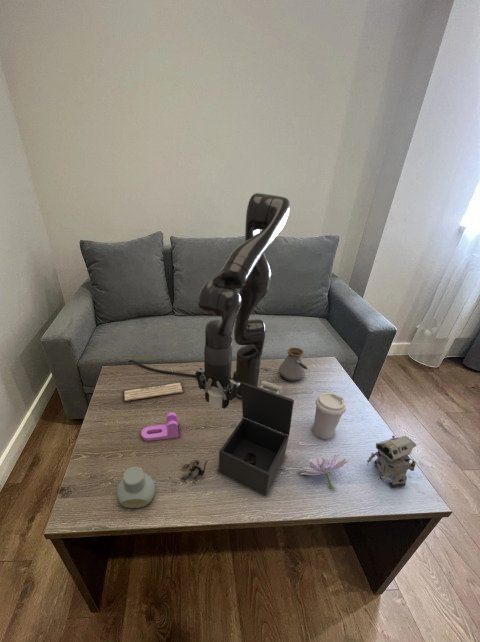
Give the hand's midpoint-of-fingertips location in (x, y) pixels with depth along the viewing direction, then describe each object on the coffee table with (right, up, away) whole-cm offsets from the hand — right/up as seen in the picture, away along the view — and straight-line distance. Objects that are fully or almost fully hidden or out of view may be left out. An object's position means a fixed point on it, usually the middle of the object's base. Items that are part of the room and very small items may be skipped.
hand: (216, 403), depth 96 cm
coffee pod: (0, 0, 0) cm, 0 cm away
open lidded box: (+12, -21, +6) cm, 25 cm away
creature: (-7, -23, +4) cm, 24 cm away
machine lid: (+15, -2, 0) cm, 15 cm away
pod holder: (+11, -22, +5) cm, 25 cm away
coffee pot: (+36, +2, +41) cm, 55 cm away
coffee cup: (+39, -13, +17) cm, 45 cm away
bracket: (-19, -14, +18) cm, 30 cm away
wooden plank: (-24, -2, +37) cm, 44 cm away
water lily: (+33, -23, +3) cm, 40 cm away
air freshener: (-24, -27, -2) cm, 36 cm away
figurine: (+51, -23, +2) cm, 56 cm away
